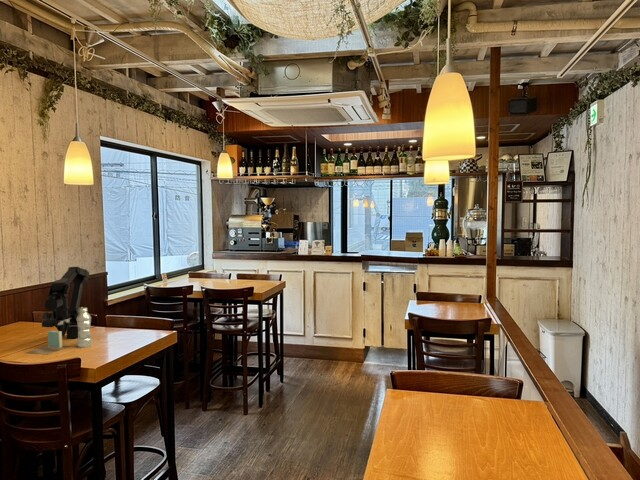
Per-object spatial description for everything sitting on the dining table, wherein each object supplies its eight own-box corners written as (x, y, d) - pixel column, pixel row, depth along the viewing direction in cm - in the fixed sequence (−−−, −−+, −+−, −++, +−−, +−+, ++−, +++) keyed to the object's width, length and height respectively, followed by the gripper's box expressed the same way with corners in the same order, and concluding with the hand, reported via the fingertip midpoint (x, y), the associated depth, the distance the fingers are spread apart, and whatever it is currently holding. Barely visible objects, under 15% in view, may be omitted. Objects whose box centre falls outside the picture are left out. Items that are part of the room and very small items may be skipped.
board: (49, 345, 219) (49, 344, 219) (71, 347, 215) (71, 346, 215) (24, 354, 205) (24, 353, 205) (47, 356, 202) (47, 354, 202)
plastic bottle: (81, 345, 217) (78, 306, 216) (94, 345, 218) (92, 306, 217) (74, 349, 211) (72, 309, 210) (89, 349, 212) (87, 308, 211)
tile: (51, 346, 216) (50, 330, 215) (62, 347, 214) (61, 331, 214) (48, 347, 214) (47, 331, 214) (59, 348, 212) (58, 332, 212)
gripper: (63, 302, 229) (64, 331, 229) (31, 309, 211) (33, 341, 211) (80, 303, 226) (82, 332, 227) (50, 310, 208) (52, 342, 209)
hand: (62, 336), depth 218 cm, fingers closed
